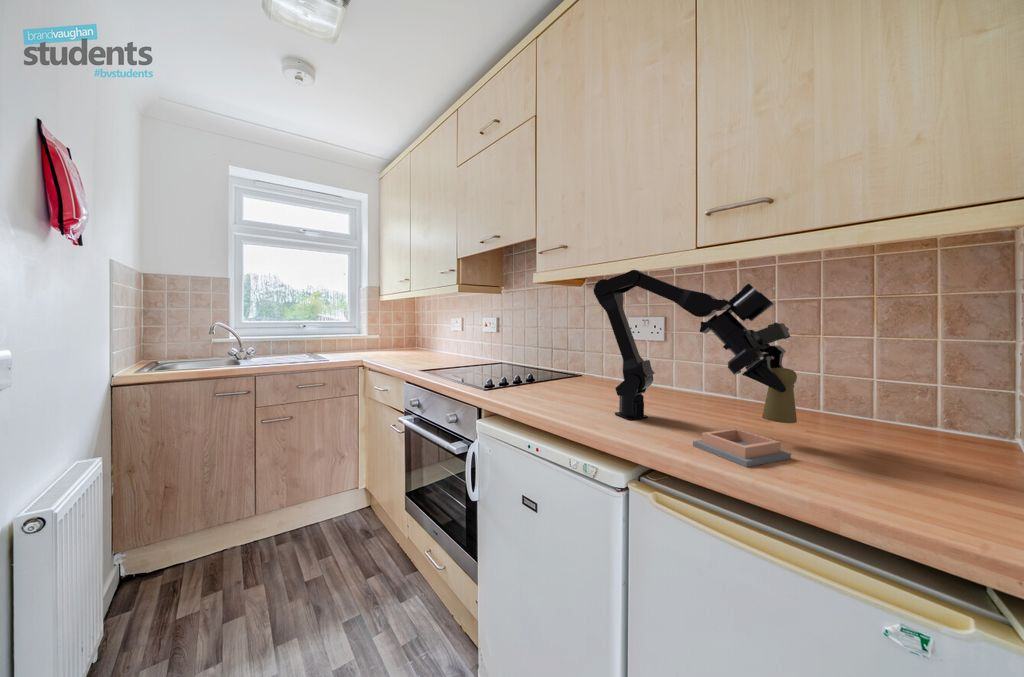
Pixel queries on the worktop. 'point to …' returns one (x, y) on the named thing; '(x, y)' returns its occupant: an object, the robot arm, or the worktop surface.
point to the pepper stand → (741, 447)
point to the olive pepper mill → (781, 399)
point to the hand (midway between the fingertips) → (788, 389)
